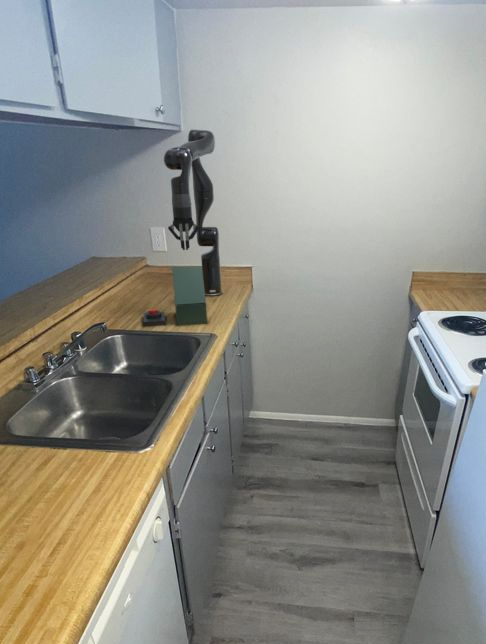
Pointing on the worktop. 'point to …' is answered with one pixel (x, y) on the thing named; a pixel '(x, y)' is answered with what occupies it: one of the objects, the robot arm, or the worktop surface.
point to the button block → (154, 319)
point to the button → (153, 311)
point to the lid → (188, 285)
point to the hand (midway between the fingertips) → (185, 249)
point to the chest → (191, 314)
